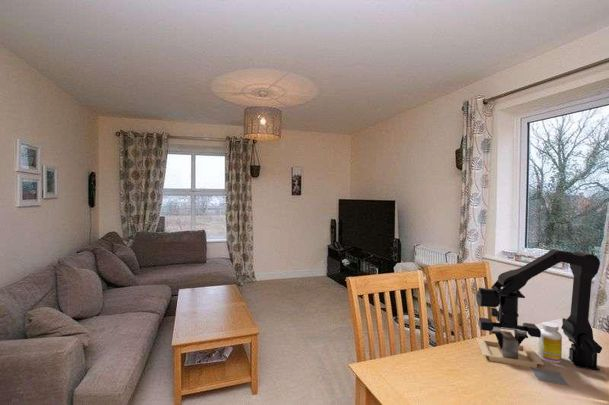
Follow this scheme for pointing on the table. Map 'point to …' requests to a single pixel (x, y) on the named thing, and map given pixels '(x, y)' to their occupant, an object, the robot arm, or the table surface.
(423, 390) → the table surface
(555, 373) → the coaster
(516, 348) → the box
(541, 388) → the table surface
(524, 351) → the tray
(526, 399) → the table surface
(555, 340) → the supplement bottle
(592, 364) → the robot arm
